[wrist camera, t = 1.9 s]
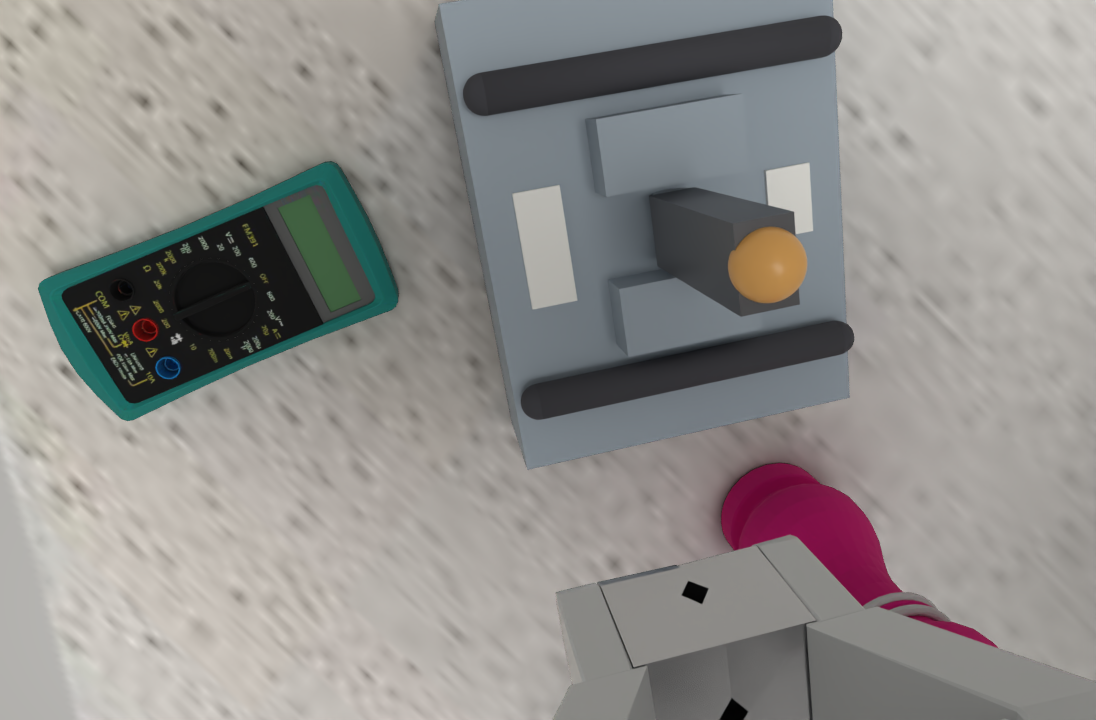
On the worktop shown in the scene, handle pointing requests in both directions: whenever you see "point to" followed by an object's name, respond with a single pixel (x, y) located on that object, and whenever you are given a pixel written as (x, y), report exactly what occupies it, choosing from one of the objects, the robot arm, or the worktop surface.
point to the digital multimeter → (221, 292)
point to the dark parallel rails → (645, 71)
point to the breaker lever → (729, 248)
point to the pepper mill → (824, 537)
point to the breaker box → (639, 210)
